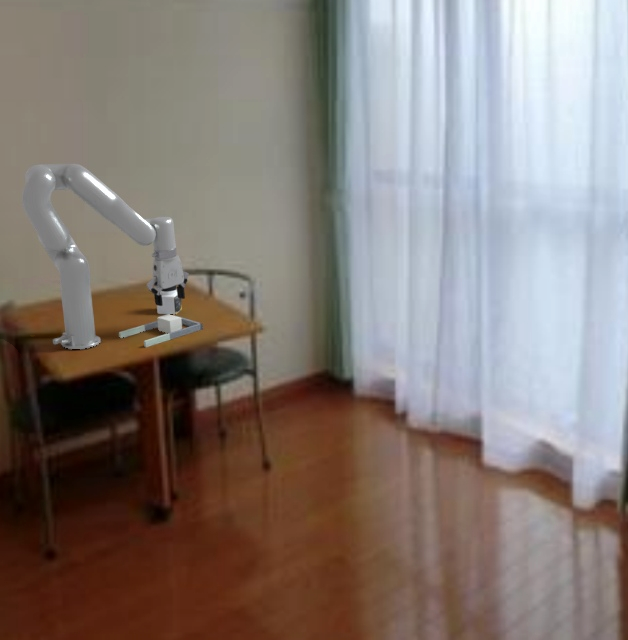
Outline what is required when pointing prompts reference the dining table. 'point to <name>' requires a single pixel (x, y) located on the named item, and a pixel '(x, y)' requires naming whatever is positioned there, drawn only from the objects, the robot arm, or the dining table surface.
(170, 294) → the medicine bottle
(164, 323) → the white block
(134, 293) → the dining table surface
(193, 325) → the bay
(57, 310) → the dining table surface
